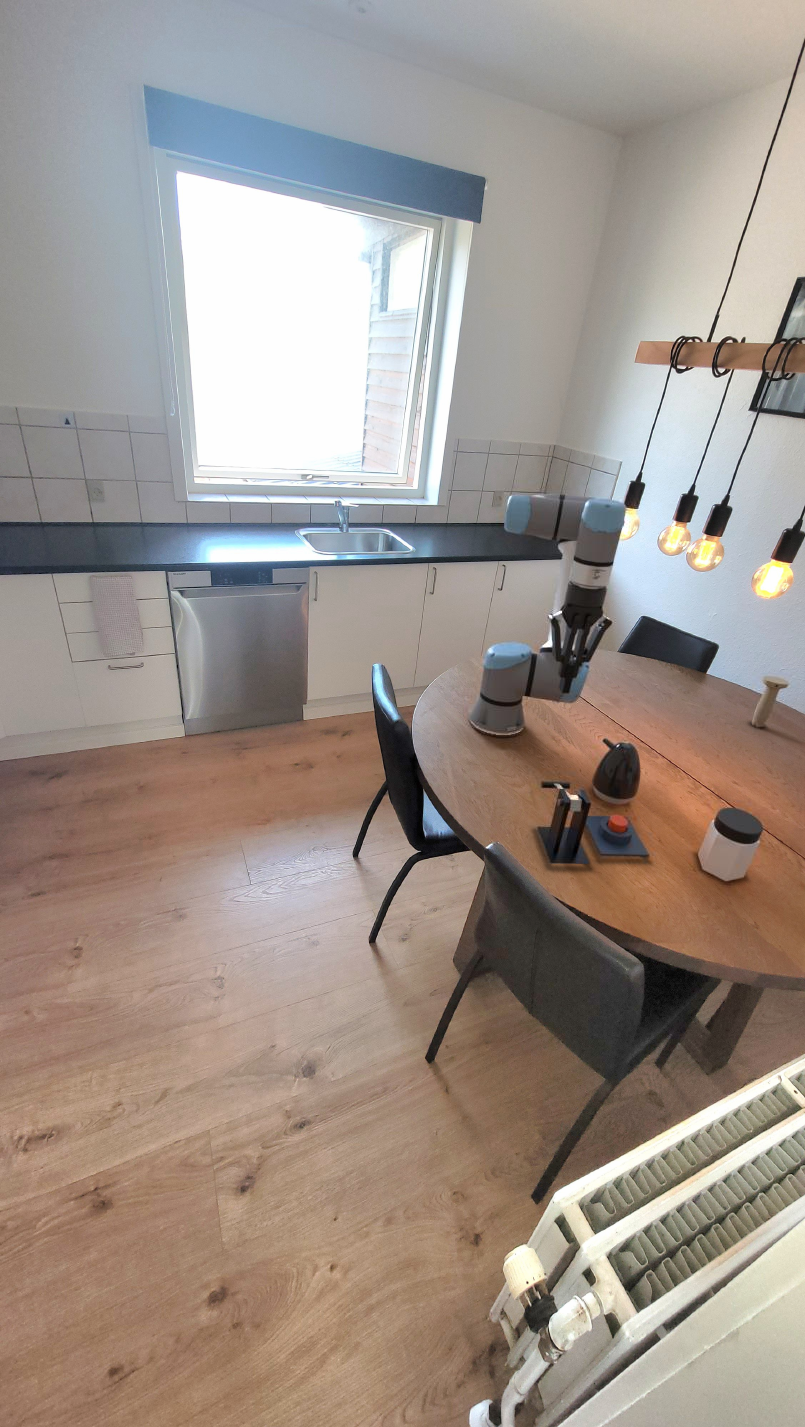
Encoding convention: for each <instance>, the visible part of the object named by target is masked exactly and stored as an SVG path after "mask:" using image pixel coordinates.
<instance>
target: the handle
mask: <svg viewBox="0 0 805 1427" xmlns="http://www.w3.org/2000/svg"><path fill="white" fill-rule="evenodd" d="M762 683H763V684H764V685H765V689H764V691H763V693H762V695H761V696H760V699H759V700H758V703H757V704H756V707H755V708H754V712H753V716H752V720H751V724H752V726H755V727H756V728H764V726H765V724H766V723H767V721H768V720H769V718H770V717H771V716H770V715H771V713H772V711H773V709H774V706H775V703H776V700H777V697H778V694H779V692H780V690H783V689H787V688H788V687H789V684H790V682H789V681H788V680H786V679H784V678H781V677H777V676H773V675H764V676H763V677H762Z"/></svg>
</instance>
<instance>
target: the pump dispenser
mask: <svg viewBox="0 0 805 1427" xmlns="http://www.w3.org/2000/svg"><path fill="white" fill-rule="evenodd" d="M602 743H603V744H604V745H605V746H607V747H608V748H609V749H608V750H607V751H606V752H605V753H604V755H603V756H602V758H601V759H600V761H599V763H598V764H597V766H596V769H595V770H594V772H593V775H592V779H591V783H592V788H593V792H594V794H595V796H596V797H597V798H599V799H600V800H601V801H603V802H605V803H608V804H612V805H616V806H617V805H619V806H621V805H622V806H623V805H626V804H628V803H630V802H631V801H632V800H633V799H634V797H636V796H637V794H638V792H639V788H640V783H641V760H640V755H639V752H638V750H637V748H636V746H635V745H634V744H632V743H631V742H629V741H619V742H617V743H613V742H612V741H611V740H610V739H608V738H607V737H603V739H602Z"/></svg>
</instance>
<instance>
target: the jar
mask: <svg viewBox="0 0 805 1427" xmlns="http://www.w3.org/2000/svg"><path fill="white" fill-rule="evenodd" d="M763 831H764V826H763V824H762V822H761V821H760V820H759V819H758V817H756V816H755V815H754V814H751V813H750V812H748V811H746V810H743V809H740V808H736V807H723V808H721V809H719V810H718V811H717V814H716V815H715V818H714V819H712V820H711V821H710V824H709V826H708V829H707V831H706V834H705V836H704V837H703V838H704V839H703V841H702V844H701V846H700V848H699V851H698V853H697V857H698V859H699V863H700V866H701V870H703V871H705V872H706V873H709V874H711V875H712V876H714V877H716V878H718V879H720V880H722V881H724V882H729V881H733V880H738V879H739V880H740V879H743V878H744V877H745V875H746V873H747V872H748V869H749V867H750V865H751V863H752V861H753V860H754V856H755V854H756V852H757V850H758V848H759V846H760V844H761V841H760V838H761V835H762V833H763Z"/></svg>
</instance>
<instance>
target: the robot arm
mask: <svg viewBox="0 0 805 1427" xmlns="http://www.w3.org/2000/svg"><path fill="white" fill-rule="evenodd" d="M626 512H627V506H626V504H625V503H624V502H622V501H619V500H615V499H610V498H599V497H597V496H594V497H590V496H581V495H573V494H572V495H571V494H561V493H542V494H533V495H528V494H511V495H510V496H509V498H508V500H507V505H506V510H505V516H504V525H503V528H504V530H505V531H506V532H508V533H512V534H513V533H514V534H517V535H528V536H534V537H536V538H541V539H544V540H550V541H558V545H557V548H558V551H560V553H561V554H562V556H561V563H560V568H559V574H558V579H557V585H556V590H555V596H554V602H553V607H552V613H549V614H548V615H547V620H548V621H549V624H550V625H549V630H548V636H547V641H546V643H544V644H543V645H542V646H540V647H539V653H534V652H533V651H532V648H531V647H530V646H529V645H527V644H524V643H523V642H522V643H521V642H515V641H513V642H512V641H506V642H500V643H497V644H494V645H492V646H490V647H489V648H488V649H487V651H486V653H485V658H484V661H483V665H482V666H483V672H482V677H481V683H480V685H481V686H480V689H479V690H480V691H479V696H478V697H477V700H476V701H475V704H474V705H473V707H472V709H471V711H470V714H469V720H468V721H469V724H470V726H471V727H472V728H473V729H474V730H476V731H477V732H478V733H480V734H483V735H485V736H489V737H494V738H512V737H513V738H514V737H516V736H519V735H520V734H522V733H523V731H524V728H525V715H524V708H523V698H524V697H525V698H526V697H527V698H532V699H539V700H545V701H550V702H551V701H552V702H556V703H564V704H574V703H576V702H577V701H578V700H579V698H580V696H581V695H582V692H583V690H584V687H585V684H586V681H587V677H588V675H589V670H590V666H591V665H590V663H591V660H592V658H593V656H594V655H595V652H596V650H597V648H598V646H599V645H600V642H601V641H602V638H603V636H604V634H605V633H606V631H607V630H608V629H610V627H611V626H612V624H613V621H612V620H611V619H610V618H609V617H608V616H607V615H605V614H604V609H603V607H604V603H605V600H606V596H607V592H608V587H607V586H608V585H609V583H610V579H611V576H612V571H613V567H614V562H615V558H616V554H617V551H618V550H617V549H618V546H619V543H620V538H621V535H622V530H623V528H624V526H625V518H626ZM595 624H596V625H595ZM594 625H595V626H594ZM592 627H594V628H593V630H592V632H591V629H592ZM590 632H591V634H590ZM589 635H590V637H589ZM588 637H589V638H588ZM470 719H471V721H472V722H473V723H474V724H475V725H476V726H479V728H481V729H484V730H487V731H491V732H494V733H500V734H501V733H502V734H509V733H515V732H517V731H520V730H521V729H522V728H523V727H524V728H523V729H522V730H521V731H520V732H518V733H515V734H511V735H496V734H491V733H487V732H484V731H482V730H480V729H478V728H476V727H475V726H474V725H473V724H472V723H471V721H470Z"/></svg>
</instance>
